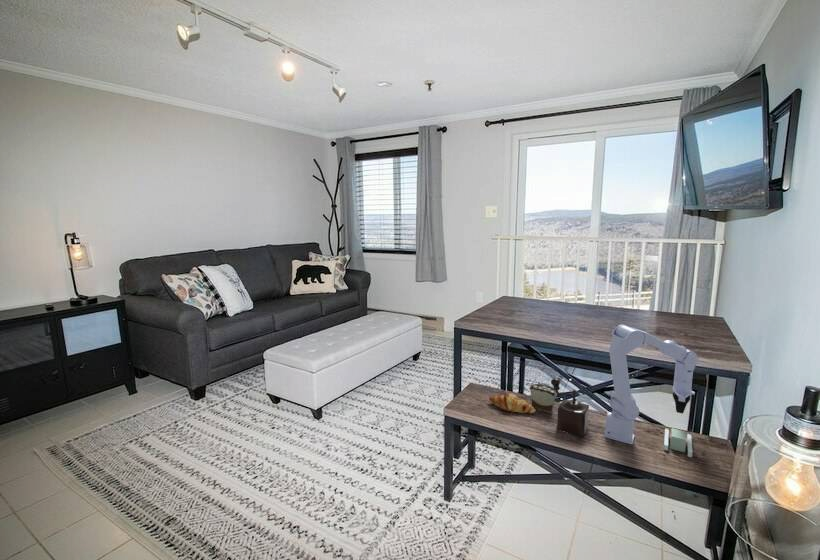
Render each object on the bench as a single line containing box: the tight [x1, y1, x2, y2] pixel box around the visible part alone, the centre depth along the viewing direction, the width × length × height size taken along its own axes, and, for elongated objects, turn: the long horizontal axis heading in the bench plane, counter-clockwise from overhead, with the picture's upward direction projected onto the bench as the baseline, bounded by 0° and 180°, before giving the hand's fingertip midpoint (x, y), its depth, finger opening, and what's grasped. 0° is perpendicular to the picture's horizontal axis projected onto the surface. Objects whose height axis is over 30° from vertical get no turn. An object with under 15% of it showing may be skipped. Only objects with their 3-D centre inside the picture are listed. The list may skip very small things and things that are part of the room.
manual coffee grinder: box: [550, 378, 590, 438], centre depth 158 cm, size 16×11×18 cm
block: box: [669, 427, 687, 453], centre depth 145 cm, size 4×7×5 cm, turn 146°
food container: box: [528, 383, 558, 414], centre depth 175 cm, size 12×6×10 cm, turn 48°
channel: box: [663, 428, 693, 458], centre depth 146 cm, size 8×14×2 cm, turn 146°
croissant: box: [488, 392, 536, 414], centre depth 175 cm, size 21×10×8 cm, turn 60°
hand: (679, 412), depth 151 cm, fingers closed
